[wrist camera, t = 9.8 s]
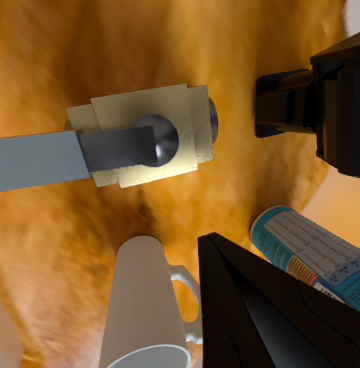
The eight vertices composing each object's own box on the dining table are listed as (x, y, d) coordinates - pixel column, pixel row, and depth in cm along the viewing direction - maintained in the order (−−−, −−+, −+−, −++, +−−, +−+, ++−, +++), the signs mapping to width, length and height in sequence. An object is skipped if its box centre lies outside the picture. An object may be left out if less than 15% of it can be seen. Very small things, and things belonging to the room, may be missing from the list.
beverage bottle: (275, 193, 25) (638, 390, 7) (301, 218, 28) (587, 394, 10) (237, 234, 26) (463, 493, 8) (266, 253, 30) (469, 466, 12)
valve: (196, 89, 17) (228, 76, 11) (203, 147, 20) (232, 161, 14) (73, 110, 15) (34, 107, 10) (97, 171, 18) (78, 199, 12)
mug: (113, 274, 23) (94, 411, 12) (115, 233, 21) (94, 357, 10) (183, 268, 26) (217, 376, 15) (191, 232, 24) (237, 328, 13)
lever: (-30, 132, 9) (-83, 137, 7) (172, 111, 11) (181, 110, 9) (0, 186, 10) (-36, 205, 8) (177, 159, 12) (186, 168, 10)
